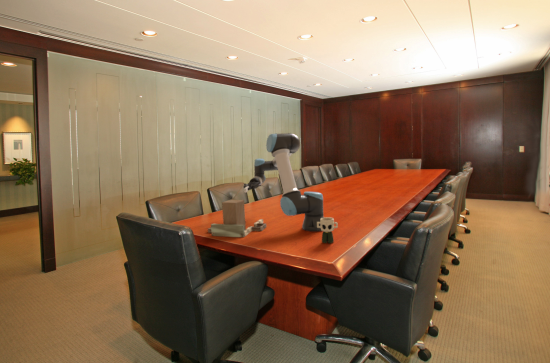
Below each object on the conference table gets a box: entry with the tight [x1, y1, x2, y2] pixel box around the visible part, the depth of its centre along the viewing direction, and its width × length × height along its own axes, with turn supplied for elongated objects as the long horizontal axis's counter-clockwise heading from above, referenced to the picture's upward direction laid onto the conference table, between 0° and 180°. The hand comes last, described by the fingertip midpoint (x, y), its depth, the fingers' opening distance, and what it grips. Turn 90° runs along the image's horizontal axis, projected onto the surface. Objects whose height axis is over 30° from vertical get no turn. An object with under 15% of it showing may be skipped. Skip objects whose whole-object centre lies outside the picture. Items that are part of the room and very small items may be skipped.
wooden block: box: [221, 199, 247, 230], centre depth 190 cm, size 10×10×20 cm
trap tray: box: [207, 218, 267, 238], centre depth 200 cm, size 35×33×7 cm
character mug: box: [317, 216, 339, 244], centre depth 163 cm, size 11×7×13 cm, turn 77°
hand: (245, 190), depth 202 cm, fingers closed
